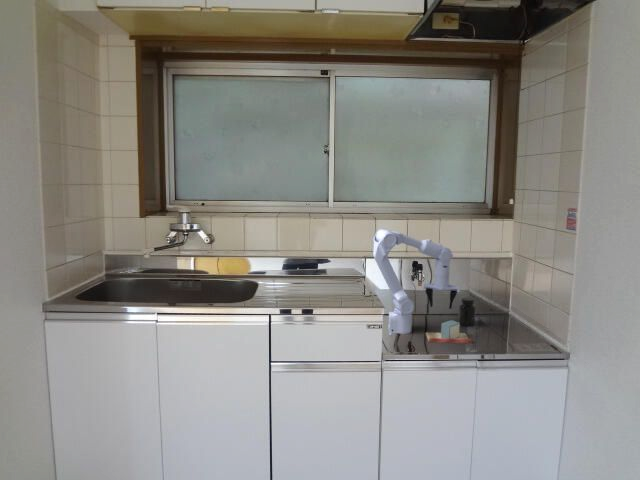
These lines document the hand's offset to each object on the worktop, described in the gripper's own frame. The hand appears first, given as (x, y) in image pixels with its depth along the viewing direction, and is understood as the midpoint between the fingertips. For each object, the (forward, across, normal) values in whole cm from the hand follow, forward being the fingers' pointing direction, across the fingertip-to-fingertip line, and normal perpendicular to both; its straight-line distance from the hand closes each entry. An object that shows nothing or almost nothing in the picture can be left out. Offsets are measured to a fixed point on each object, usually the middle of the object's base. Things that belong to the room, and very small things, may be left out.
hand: (440, 307), depth 186 cm
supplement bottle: (+10, +10, +8) cm, 16 cm away
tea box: (+9, +5, -10) cm, 14 cm away
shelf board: (+10, +4, -10) cm, 15 cm away
